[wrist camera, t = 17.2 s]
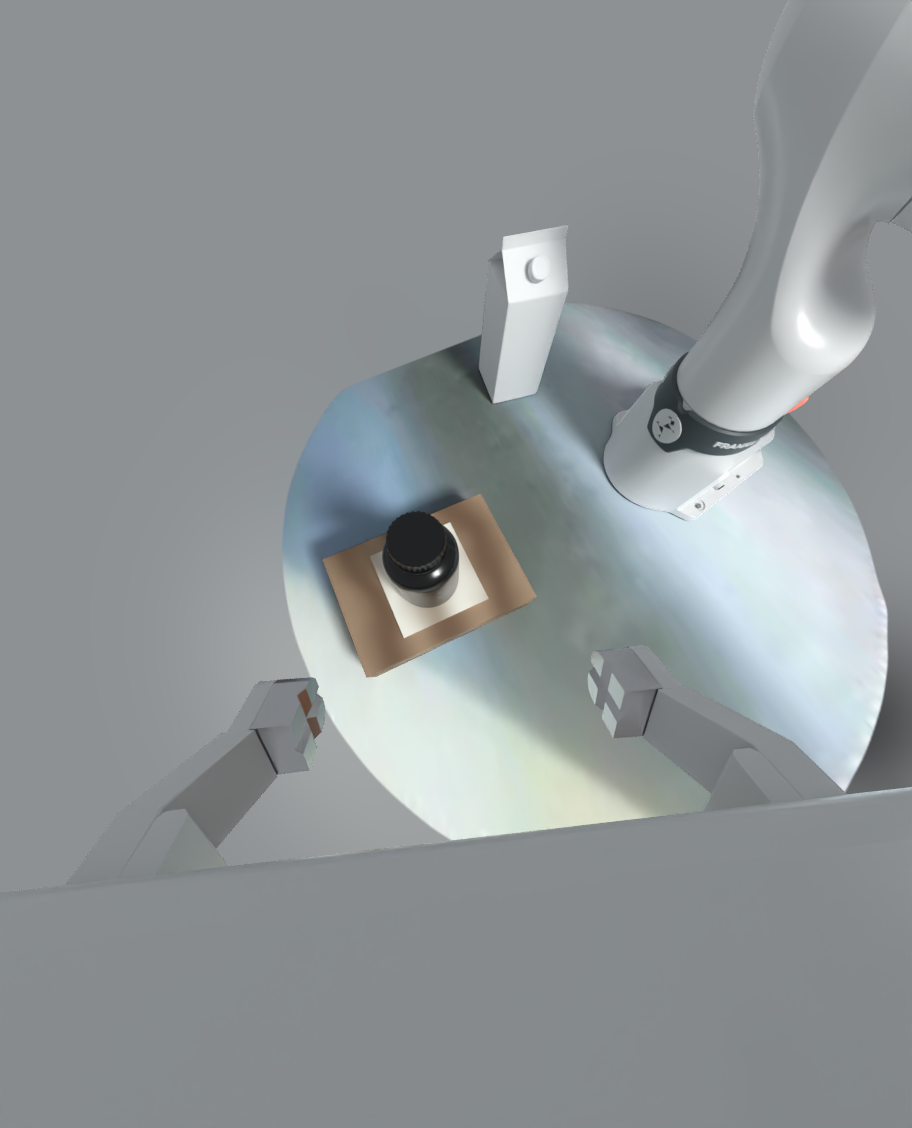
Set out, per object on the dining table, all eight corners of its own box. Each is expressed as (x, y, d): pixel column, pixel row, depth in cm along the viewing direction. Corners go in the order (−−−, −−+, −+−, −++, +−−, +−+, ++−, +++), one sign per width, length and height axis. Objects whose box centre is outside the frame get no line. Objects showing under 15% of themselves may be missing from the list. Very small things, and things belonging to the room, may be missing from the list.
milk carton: (478, 369, 54) (492, 215, 36) (520, 359, 54) (555, 204, 36) (492, 404, 52) (515, 261, 34) (536, 394, 52) (581, 248, 34)
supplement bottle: (448, 542, 39) (447, 489, 28) (466, 599, 37) (472, 567, 26) (390, 558, 39) (364, 511, 27) (404, 617, 37) (383, 592, 25)
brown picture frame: (477, 511, 46) (480, 492, 41) (527, 604, 43) (537, 595, 38) (336, 571, 44) (321, 558, 38) (376, 676, 40) (365, 677, 35)
